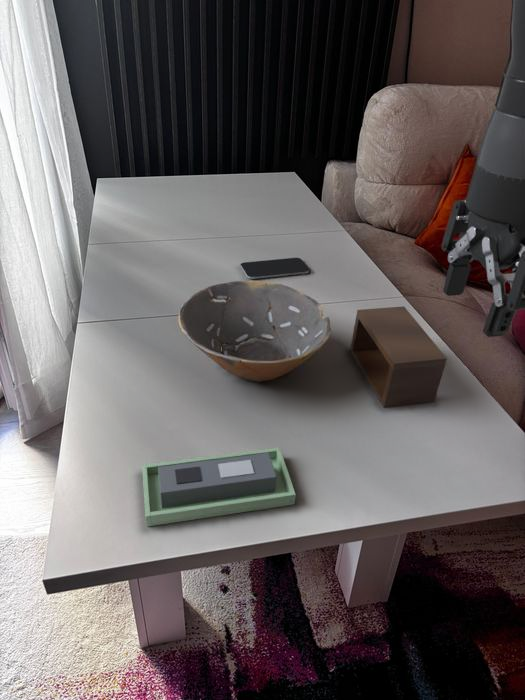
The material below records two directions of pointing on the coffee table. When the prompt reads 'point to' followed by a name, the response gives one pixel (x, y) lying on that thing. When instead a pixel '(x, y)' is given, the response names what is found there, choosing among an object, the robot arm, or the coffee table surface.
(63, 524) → the coffee table surface
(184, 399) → the coffee table surface
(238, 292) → the bowl
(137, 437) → the coffee table surface
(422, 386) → the brown wooden open box
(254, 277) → the smartphone
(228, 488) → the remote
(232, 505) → the tray
